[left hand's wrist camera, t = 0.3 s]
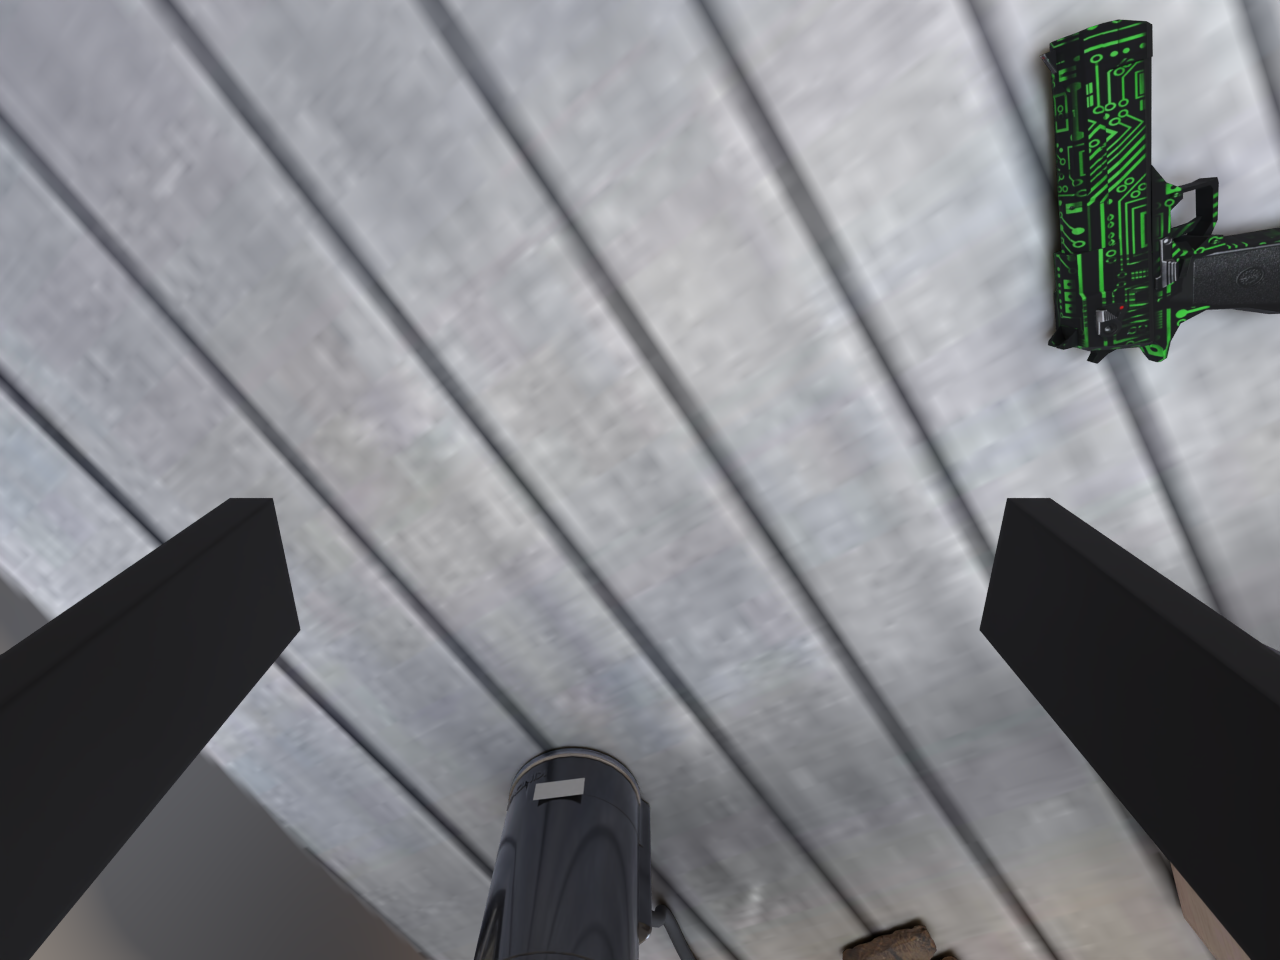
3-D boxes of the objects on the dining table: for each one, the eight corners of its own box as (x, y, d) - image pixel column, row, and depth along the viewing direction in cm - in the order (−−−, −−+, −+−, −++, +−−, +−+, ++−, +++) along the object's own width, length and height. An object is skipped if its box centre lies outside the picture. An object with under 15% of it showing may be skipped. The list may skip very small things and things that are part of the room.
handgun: (1347, 337, 35) (1051, 388, 35) (1292, 329, 37) (1019, 377, 38) (1414, -40, 29) (1063, 28, 30) (1345, -16, 32) (1025, 45, 32)
